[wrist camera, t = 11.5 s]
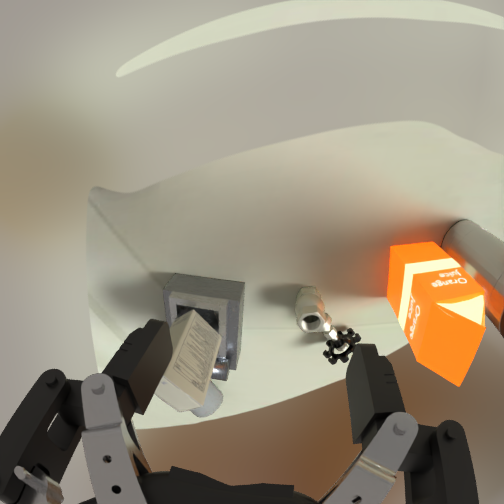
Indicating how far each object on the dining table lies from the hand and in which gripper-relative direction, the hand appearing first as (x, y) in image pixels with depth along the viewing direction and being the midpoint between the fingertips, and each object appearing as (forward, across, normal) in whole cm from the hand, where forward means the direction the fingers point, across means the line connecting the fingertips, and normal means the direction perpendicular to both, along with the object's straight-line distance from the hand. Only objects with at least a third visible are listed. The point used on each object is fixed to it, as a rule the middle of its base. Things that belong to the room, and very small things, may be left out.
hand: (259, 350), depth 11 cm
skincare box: (+20, +10, +17) cm, 28 cm away
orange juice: (+27, -21, +8) cm, 35 cm away
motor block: (+27, +10, +19) cm, 34 cm away
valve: (+27, -8, +17) cm, 33 cm away
